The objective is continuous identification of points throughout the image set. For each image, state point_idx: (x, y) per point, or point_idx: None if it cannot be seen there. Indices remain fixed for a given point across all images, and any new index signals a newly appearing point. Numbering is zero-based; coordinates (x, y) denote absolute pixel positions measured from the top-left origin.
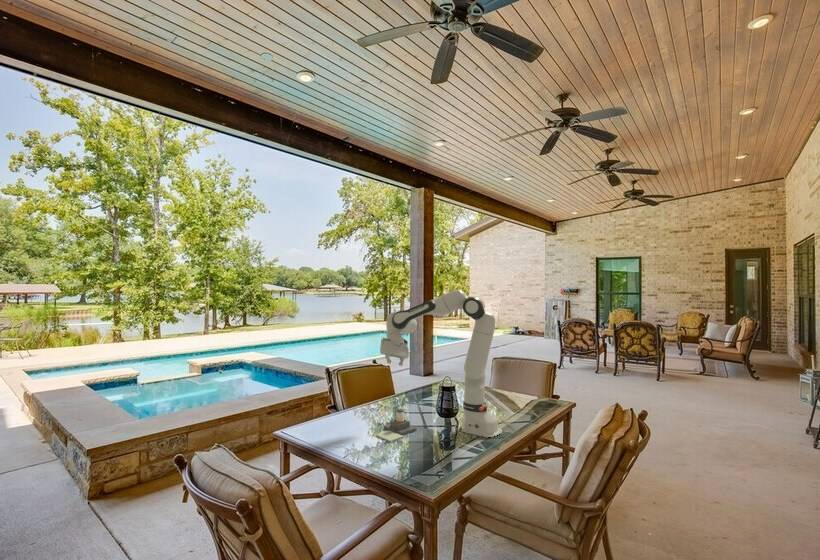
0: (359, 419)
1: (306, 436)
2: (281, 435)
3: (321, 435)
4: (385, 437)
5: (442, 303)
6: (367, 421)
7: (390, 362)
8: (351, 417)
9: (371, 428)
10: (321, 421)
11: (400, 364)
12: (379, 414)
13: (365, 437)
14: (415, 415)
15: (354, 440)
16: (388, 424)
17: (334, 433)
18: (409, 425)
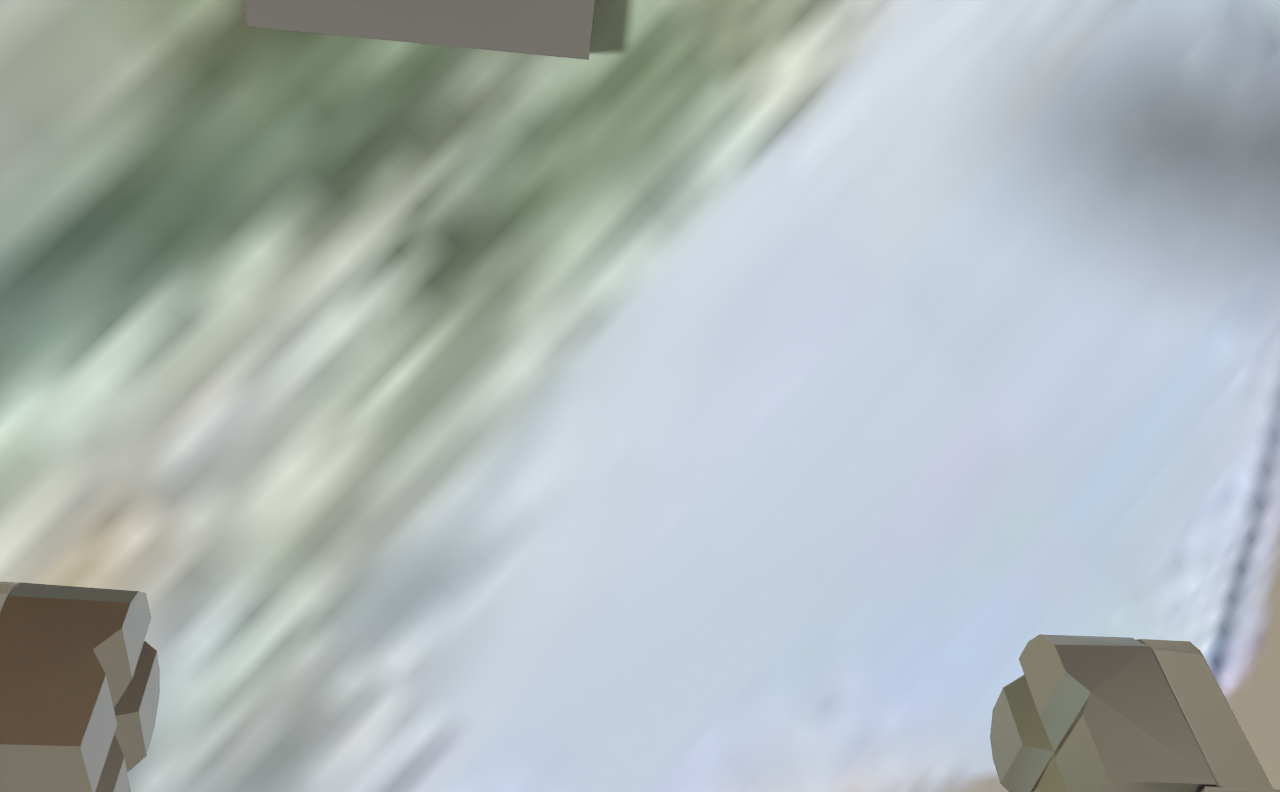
0: (518, 577)
1: (1196, 484)
2: (1263, 633)
3: (1120, 416)
4: None
5: None
6: (500, 450)
7: (1103, 641)
8: (534, 695)
9: (663, 200)
10: (844, 757)
11: (132, 645)
12: (138, 583)
13: (937, 13)
14: None
15: (1066, 44)
16: (492, 43)
17: (1022, 376)
18: None
